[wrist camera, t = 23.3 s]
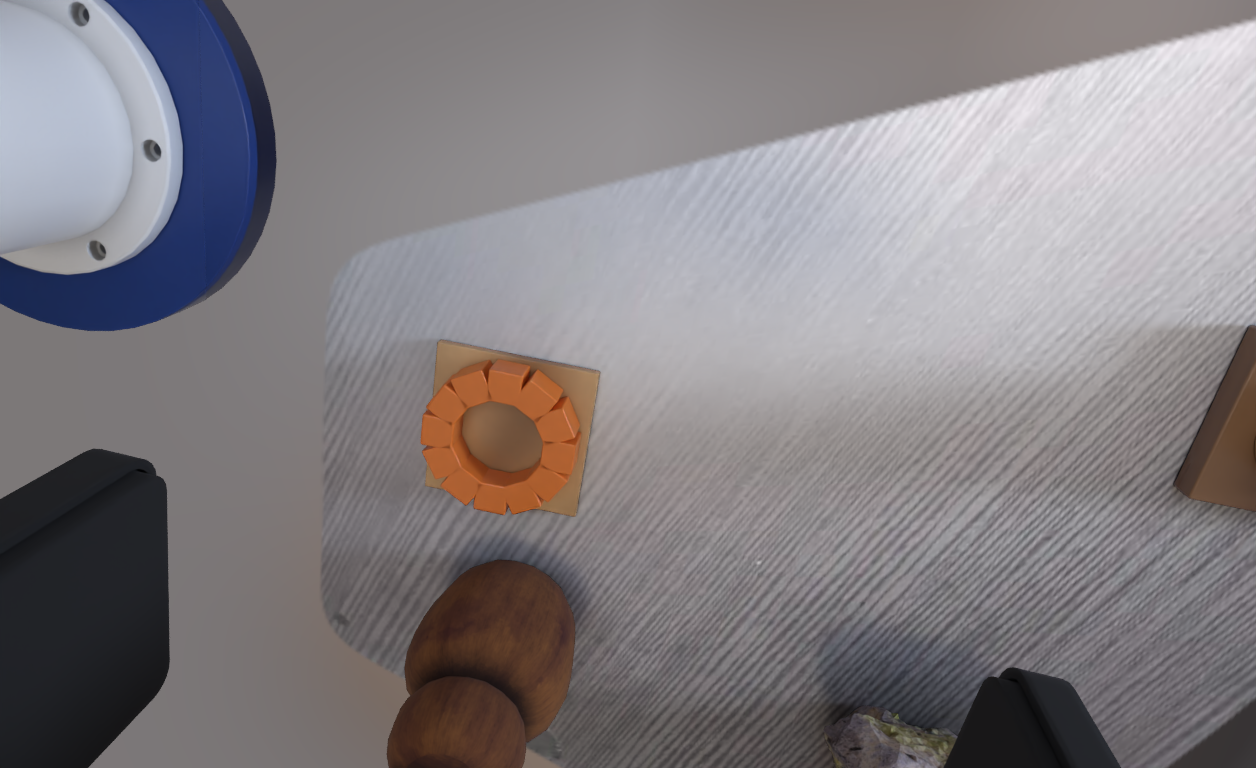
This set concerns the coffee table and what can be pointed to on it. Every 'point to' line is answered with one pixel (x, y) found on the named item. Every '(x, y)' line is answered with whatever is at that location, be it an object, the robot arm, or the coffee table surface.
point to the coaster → (518, 418)
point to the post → (1227, 439)
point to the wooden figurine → (485, 670)
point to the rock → (886, 741)
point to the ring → (471, 474)
